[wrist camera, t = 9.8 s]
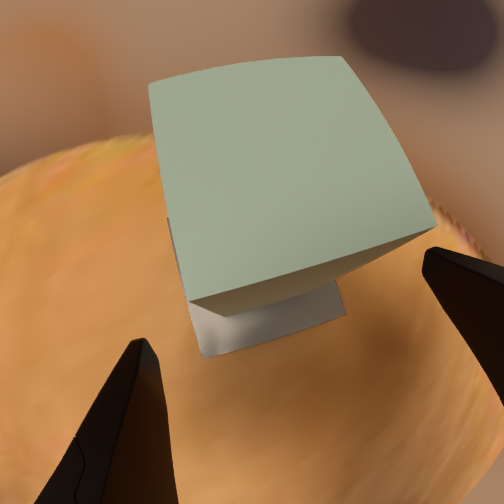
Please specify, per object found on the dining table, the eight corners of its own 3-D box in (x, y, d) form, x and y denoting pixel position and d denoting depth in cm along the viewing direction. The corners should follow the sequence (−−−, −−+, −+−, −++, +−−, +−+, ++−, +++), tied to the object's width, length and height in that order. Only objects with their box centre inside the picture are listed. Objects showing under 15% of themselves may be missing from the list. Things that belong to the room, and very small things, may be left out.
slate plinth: (331, 316, 20) (346, 314, 17) (208, 353, 19) (202, 359, 16) (292, 201, 22) (300, 183, 19) (176, 232, 21) (166, 217, 18)
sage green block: (306, 293, 17) (437, 225, 5) (225, 317, 17) (187, 300, 4) (281, 217, 18) (341, 56, 6) (203, 237, 18) (148, 83, 6)
